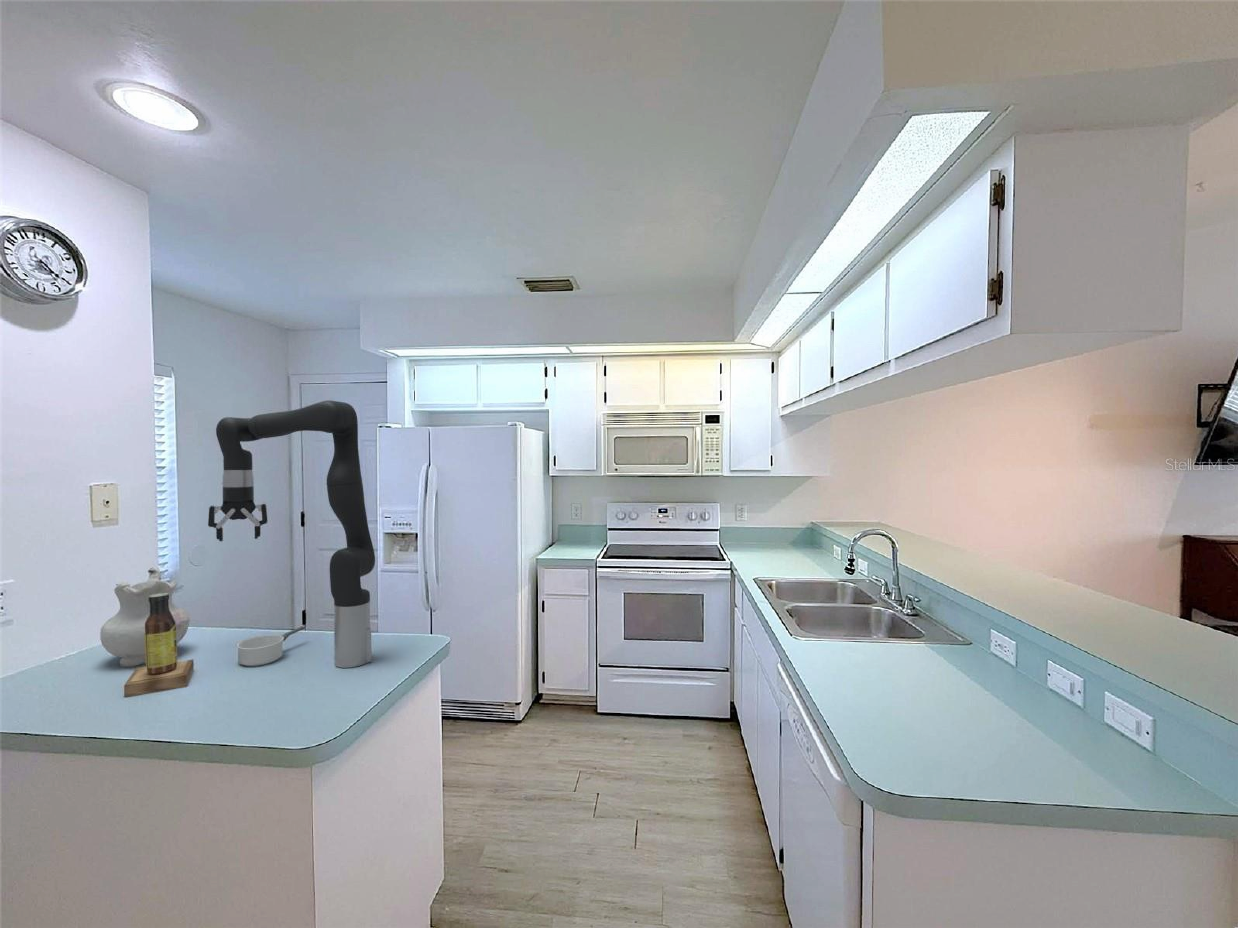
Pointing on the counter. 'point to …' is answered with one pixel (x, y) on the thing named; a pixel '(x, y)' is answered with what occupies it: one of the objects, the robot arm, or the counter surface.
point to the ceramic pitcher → (138, 619)
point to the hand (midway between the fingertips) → (238, 539)
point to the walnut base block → (158, 679)
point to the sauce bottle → (160, 636)
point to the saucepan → (262, 648)
